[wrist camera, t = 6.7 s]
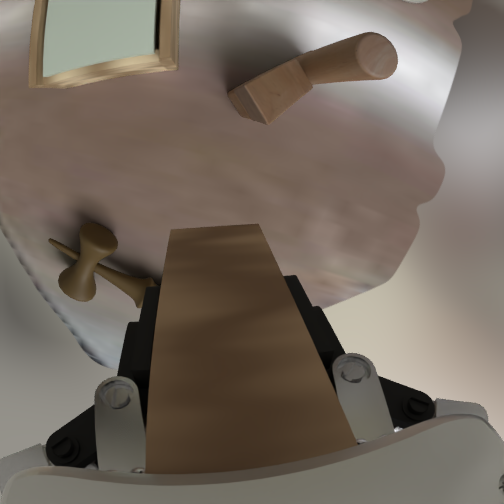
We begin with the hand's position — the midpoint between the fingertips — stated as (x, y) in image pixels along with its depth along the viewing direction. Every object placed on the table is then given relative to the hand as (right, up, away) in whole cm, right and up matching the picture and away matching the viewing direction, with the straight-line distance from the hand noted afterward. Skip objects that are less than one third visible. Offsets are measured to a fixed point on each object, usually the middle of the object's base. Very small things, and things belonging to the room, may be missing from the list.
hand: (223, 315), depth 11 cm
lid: (-13, +28, +4) cm, 31 cm away
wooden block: (+4, +22, +20) cm, 30 cm away
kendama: (-18, +1, +28) cm, 33 cm away
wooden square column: (-1, +2, +3) cm, 4 cm away
